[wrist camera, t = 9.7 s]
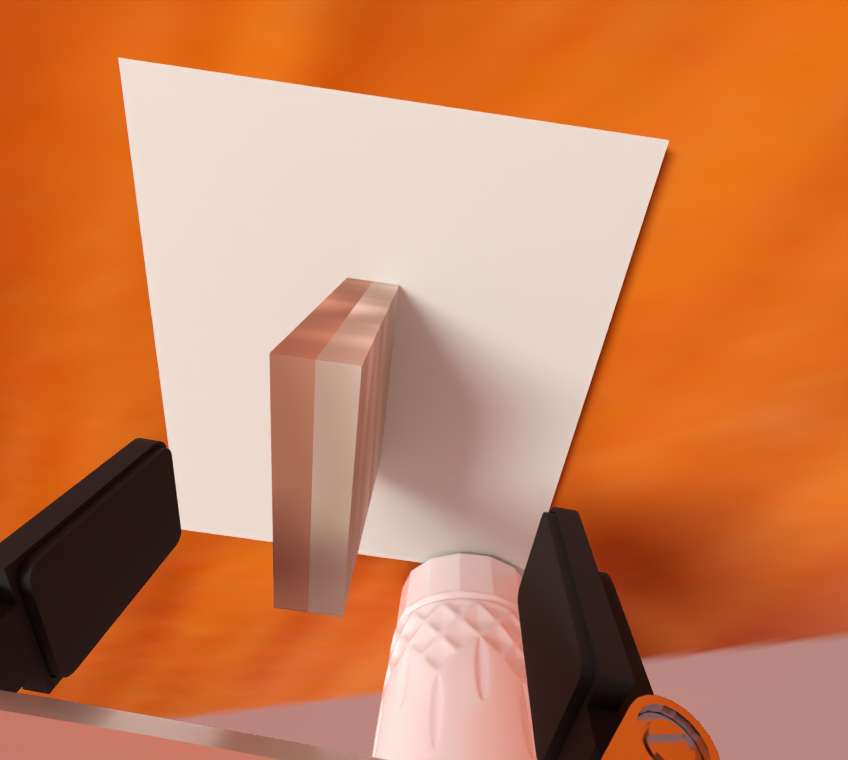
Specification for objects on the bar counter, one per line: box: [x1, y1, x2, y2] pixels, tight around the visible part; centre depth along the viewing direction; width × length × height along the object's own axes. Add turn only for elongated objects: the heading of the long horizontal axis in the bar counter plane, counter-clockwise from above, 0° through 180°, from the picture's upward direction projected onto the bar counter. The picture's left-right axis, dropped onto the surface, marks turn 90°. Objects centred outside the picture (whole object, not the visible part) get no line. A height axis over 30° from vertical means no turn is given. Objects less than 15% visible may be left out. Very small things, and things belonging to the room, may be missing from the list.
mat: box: [118, 58, 669, 577], centre depth 19 cm, size 18×20×1 cm
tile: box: [269, 278, 399, 617], centre depth 15 cm, size 2×8×8 cm, turn 172°
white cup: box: [372, 553, 537, 760], centre depth 19 cm, size 8×8×10 cm
